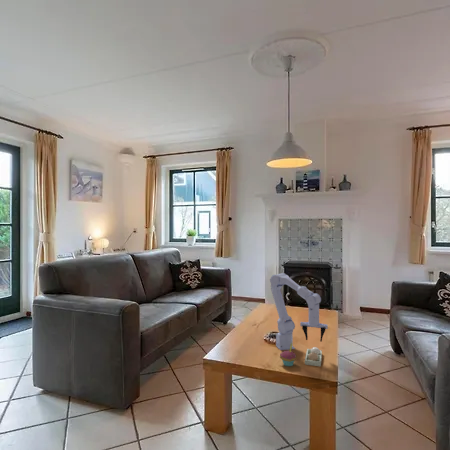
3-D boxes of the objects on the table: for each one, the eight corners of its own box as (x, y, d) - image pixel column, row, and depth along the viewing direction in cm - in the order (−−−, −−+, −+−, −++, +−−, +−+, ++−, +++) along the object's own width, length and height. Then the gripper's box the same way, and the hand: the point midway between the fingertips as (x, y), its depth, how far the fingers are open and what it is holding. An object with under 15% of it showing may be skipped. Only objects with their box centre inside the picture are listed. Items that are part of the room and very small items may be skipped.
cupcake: (294, 361, 167) (294, 339, 167) (298, 368, 159) (298, 345, 159) (278, 361, 167) (278, 339, 167) (281, 368, 159) (281, 345, 159)
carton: (320, 367, 160) (320, 362, 160) (304, 365, 163) (304, 360, 163) (321, 354, 175) (321, 350, 175) (307, 352, 178) (307, 348, 178)
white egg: (311, 357, 170) (314, 349, 169) (308, 352, 174) (310, 344, 174) (319, 359, 171) (322, 351, 170) (315, 354, 175) (318, 346, 175)
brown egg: (311, 364, 162) (311, 354, 162) (306, 360, 167) (306, 351, 167) (319, 363, 163) (319, 354, 163) (315, 359, 168) (315, 350, 168)
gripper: (327, 315, 174) (327, 339, 174) (301, 312, 179) (301, 336, 179) (327, 318, 167) (327, 343, 167) (299, 316, 172) (300, 340, 172)
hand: (313, 340), depth 172 cm, fingers open, 7 cm apart
